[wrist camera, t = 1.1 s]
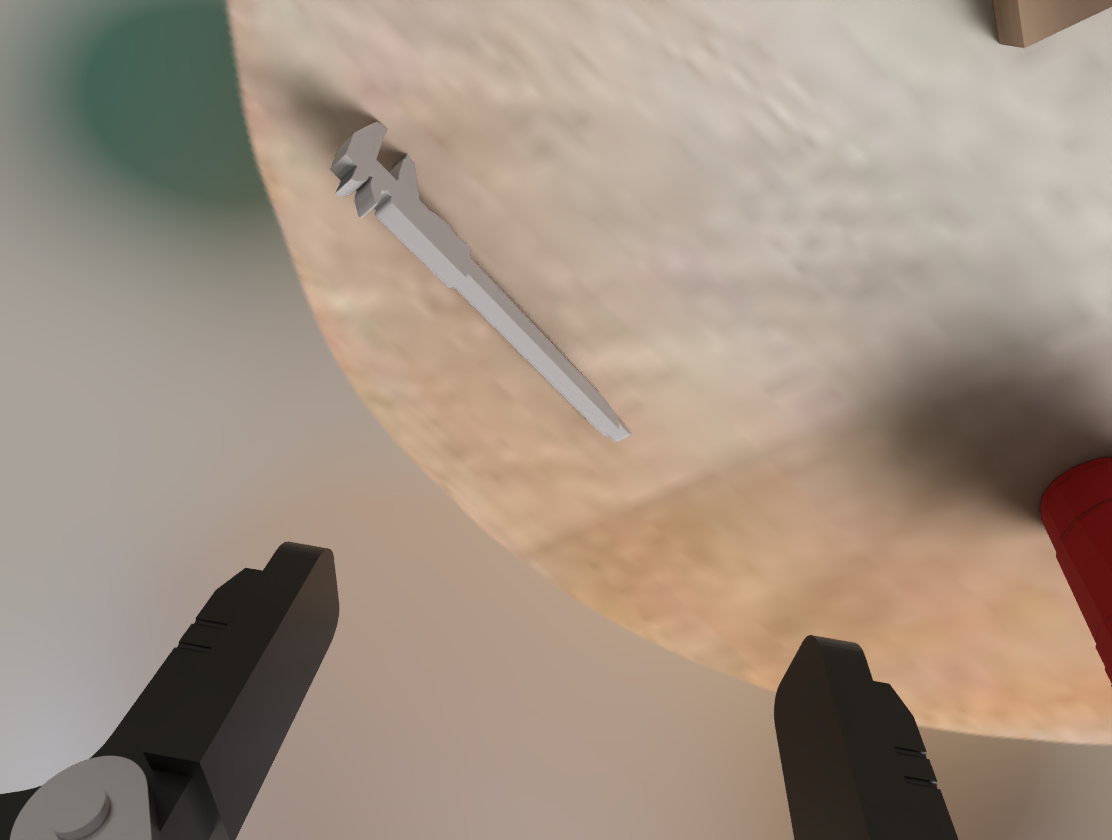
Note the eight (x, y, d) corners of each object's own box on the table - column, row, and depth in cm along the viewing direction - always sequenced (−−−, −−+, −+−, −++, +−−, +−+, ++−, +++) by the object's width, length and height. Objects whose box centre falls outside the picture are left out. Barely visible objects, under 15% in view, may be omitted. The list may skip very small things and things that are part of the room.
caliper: (366, 133, 29) (305, 164, 24) (382, 117, 29) (324, 146, 24) (617, 437, 37) (611, 510, 32) (633, 429, 37) (630, 501, 32)
